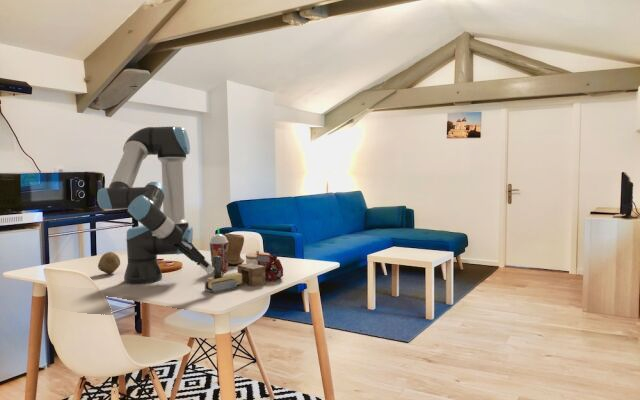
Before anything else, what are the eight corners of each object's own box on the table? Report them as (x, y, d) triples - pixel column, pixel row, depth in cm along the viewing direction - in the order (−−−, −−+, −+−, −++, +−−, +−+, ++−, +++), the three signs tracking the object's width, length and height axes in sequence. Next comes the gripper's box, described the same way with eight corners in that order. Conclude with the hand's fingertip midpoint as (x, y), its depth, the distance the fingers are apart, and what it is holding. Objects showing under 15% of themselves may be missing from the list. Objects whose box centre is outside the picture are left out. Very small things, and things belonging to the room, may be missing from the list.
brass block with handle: (207, 287, 176) (206, 257, 175) (237, 281, 185) (236, 252, 184) (212, 289, 174) (211, 258, 173) (242, 282, 182) (241, 253, 181)
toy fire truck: (277, 282, 187) (276, 257, 186) (252, 279, 193) (252, 255, 192) (286, 278, 193) (286, 254, 192) (262, 276, 199) (262, 252, 199)
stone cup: (250, 262, 230) (249, 232, 229) (234, 267, 220) (233, 235, 219) (226, 260, 237) (225, 231, 236) (210, 264, 227) (209, 234, 226)
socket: (238, 282, 189) (237, 265, 189) (250, 279, 193) (249, 262, 193) (252, 286, 181) (252, 268, 181) (265, 283, 185) (265, 266, 185)
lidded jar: (266, 274, 202) (265, 253, 201) (242, 274, 204) (242, 253, 204) (273, 269, 213) (272, 249, 212) (251, 268, 215) (250, 248, 214)
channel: (204, 290, 177) (204, 281, 177) (227, 285, 184) (227, 276, 183) (213, 293, 172) (212, 284, 172) (236, 288, 179) (236, 279, 179)
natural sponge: (124, 273, 211) (123, 251, 211) (104, 277, 205) (103, 254, 204) (115, 270, 217) (114, 249, 217) (96, 274, 211) (95, 252, 210)
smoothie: (233, 271, 210) (231, 227, 209) (217, 274, 204) (215, 229, 203) (222, 268, 216) (220, 226, 215) (207, 272, 210) (205, 228, 209)
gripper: (152, 237, 166) (197, 276, 178) (167, 241, 156) (214, 282, 168) (166, 221, 169) (209, 260, 181) (182, 224, 159) (226, 265, 171)
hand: (211, 271), depth 174 cm, fingers closed
